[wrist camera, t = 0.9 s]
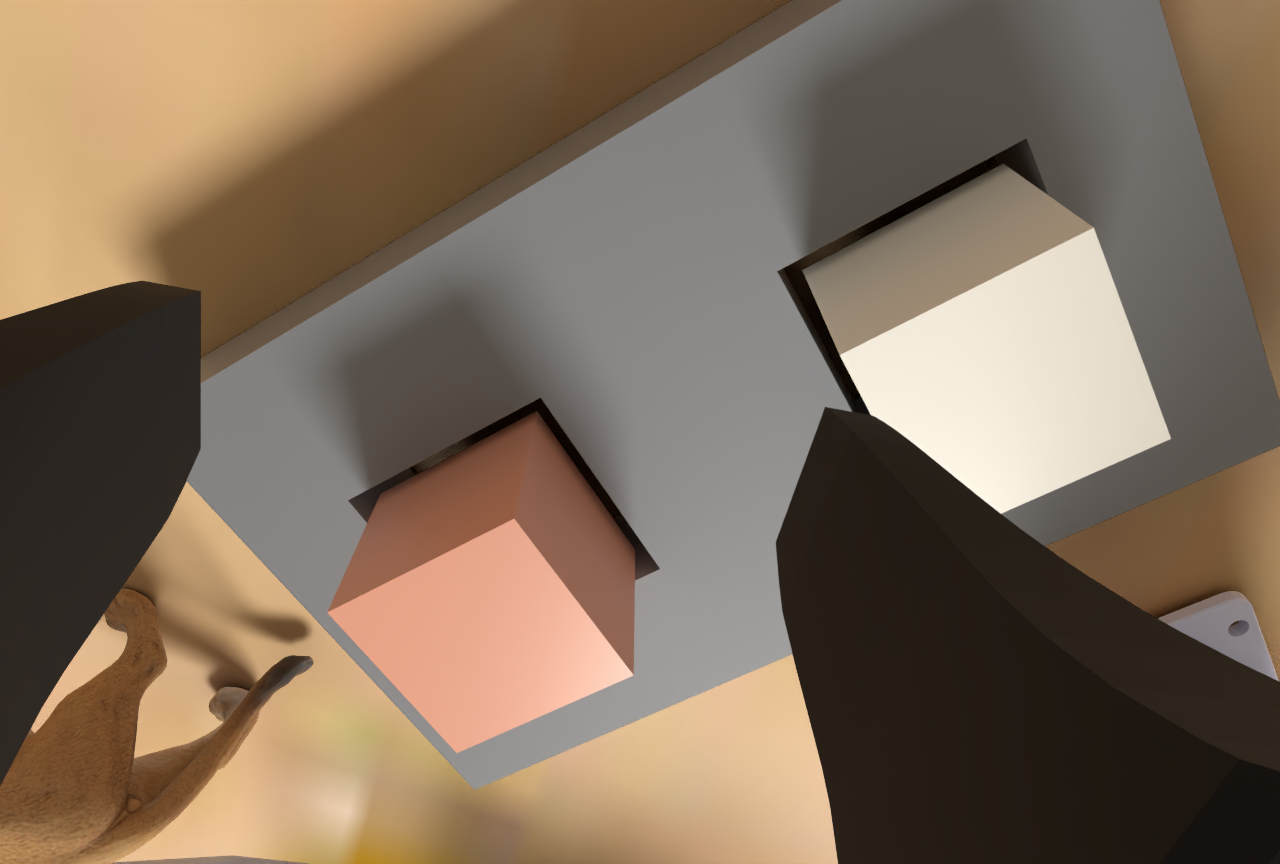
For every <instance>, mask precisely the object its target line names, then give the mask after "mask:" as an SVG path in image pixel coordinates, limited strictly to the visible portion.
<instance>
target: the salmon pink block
mask: <svg viewBox="0 0 1280 864" xmlns="http://www.w3.org/2000/svg"><path fill="white" fill-rule="evenodd" d="M327 613H328V614H329V615H330V616H331V617H332V618H333V619H334V621H335V622H336V623H337V624H338V625H339V626H340V627H341V628H342V629H343V630H344V631H345V632H346V634H347V635H348V636H349V637H350V638H351V639H352V640H353V641H354V642H355V643H356V644H357V646H358V647H359V648H360V649H361V650H362V651H363V652H364V653H365V654H366V655H367V656H368V657H369V659H370V660H371V661H372V662H373V663H374V664H375V665H376V666H377V667H378V668H379V669H380V670H381V672H382V673H383V674H384V675H385V676H386V677H387V678H388V679H389V680H390V681H391V682H392V684H393V685H394V686H395V687H396V688H397V689H398V690H399V691H400V692H401V693H402V694H403V695H404V697H405V698H406V699H407V700H408V701H409V702H410V703H411V704H412V705H413V706H414V707H415V708H416V710H417V711H418V712H419V713H420V714H421V715H422V716H423V717H424V718H425V719H426V720H427V722H428V723H429V724H430V725H431V726H432V727H433V728H434V729H435V730H436V731H437V732H438V733H439V735H440V736H441V737H442V738H443V739H444V740H445V741H446V742H447V743H448V744H449V745H450V746H451V748H452V749H453V750H454V751H455V752H456V753H459V752H461V751H463V750H465V749H468V748H470V747H472V746H474V745H477V744H479V743H481V742H484V741H486V740H488V739H490V738H493V737H495V736H497V735H499V734H502V733H504V732H506V731H509V730H511V729H513V728H515V727H518V726H520V725H522V724H524V723H527V722H529V721H531V720H533V719H536V718H538V717H540V716H543V715H545V714H547V713H549V712H552V711H554V710H556V709H558V708H561V707H563V706H565V705H568V704H570V703H572V702H574V701H577V700H579V699H581V698H583V697H586V696H588V695H590V694H593V693H595V692H597V691H599V690H602V689H604V688H606V687H608V686H611V685H613V684H615V683H618V682H620V681H622V680H624V679H627V678H629V677H631V676H633V675H634V613H635V549H634V548H633V546H632V545H631V543H630V542H629V540H628V539H627V538H626V536H625V535H624V533H623V532H622V531H621V529H620V528H619V526H618V525H617V523H616V522H615V521H614V519H613V518H612V516H611V515H610V514H609V512H608V511H607V509H606V508H605V506H604V505H603V504H602V502H601V501H600V499H599V498H598V497H597V495H596V494H595V492H594V491H593V489H592V488H591V487H590V485H589V484H588V482H587V481H586V480H585V478H584V477H583V475H582V474H581V472H580V471H579V470H578V468H577V467H576V465H575V464H574V463H573V461H572V460H571V458H570V457H569V455H568V454H567V453H566V451H565V450H564V448H563V447H562V446H561V444H560V443H559V441H558V440H557V438H556V437H555V436H554V434H553V433H552V431H551V430H550V429H549V427H548V426H547V424H546V423H545V421H544V420H543V419H542V417H541V416H540V414H539V413H538V412H537V411H536V412H534V413H532V414H530V415H528V416H526V417H524V418H522V419H521V420H519V421H517V422H515V423H513V424H511V425H509V426H507V427H505V428H504V429H502V430H500V431H498V432H496V433H494V434H492V435H490V436H489V437H487V438H485V439H483V440H481V441H479V442H477V443H475V444H473V445H472V446H470V447H468V448H466V449H464V450H462V451H460V452H458V453H456V454H455V455H453V456H451V457H449V458H447V459H445V460H443V461H441V462H439V463H438V464H436V465H434V466H432V467H430V468H428V469H426V470H424V471H423V472H421V473H419V474H417V475H415V476H413V477H411V478H409V479H407V480H406V481H404V482H402V483H400V484H398V485H396V486H394V487H392V488H390V489H389V490H387V491H385V492H383V493H381V494H380V496H379V498H378V500H377V503H376V505H375V507H374V509H373V512H372V514H371V516H370V518H369V520H368V523H367V525H366V527H365V529H364V532H363V534H362V536H361V538H360V541H359V543H358V545H357V547H356V549H355V552H354V554H353V556H352V558H351V561H350V563H349V565H348V567H347V569H346V572H345V574H344V576H343V578H342V581H341V583H340V585H339V587H338V589H337V592H336V594H335V596H334V598H333V601H332V603H331V605H330V607H329V610H328V612H327Z"/></svg>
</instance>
